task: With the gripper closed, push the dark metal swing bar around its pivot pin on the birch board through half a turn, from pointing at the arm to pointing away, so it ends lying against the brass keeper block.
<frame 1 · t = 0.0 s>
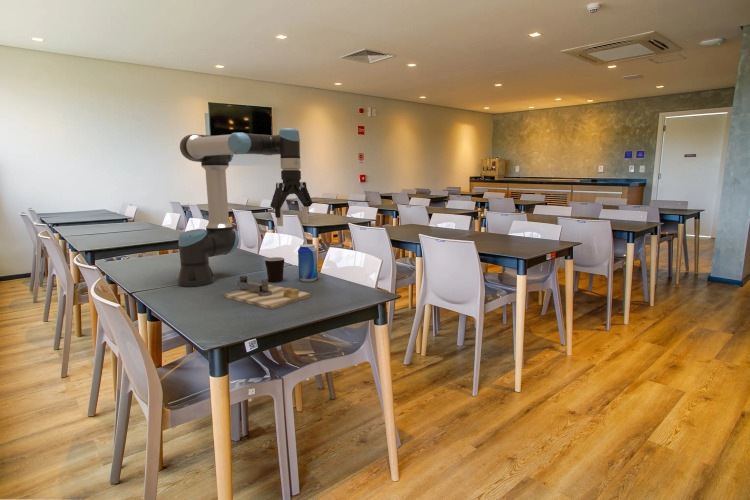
hand: (293, 224, 171), 28 cm above the table, tool pointing down, fingers open, 13 cm apart
beer can: (308, 280, 198), on the table
swing bar: (250, 283, 174), point 4 cm above the table, hinge at 0.0°
door board: (265, 297, 170), on the table
coffee mug: (277, 280, 198), on the table
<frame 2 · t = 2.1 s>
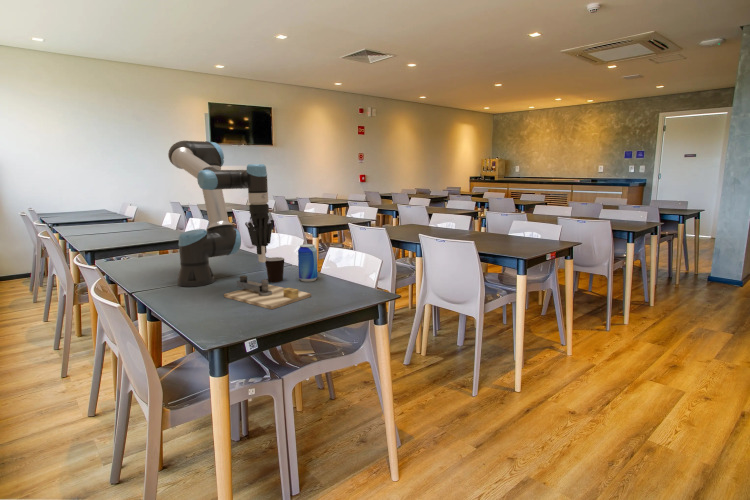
hand: (262, 261, 176), 13 cm above the table, tool pointing down, fingers closed
nothing on the table moved.
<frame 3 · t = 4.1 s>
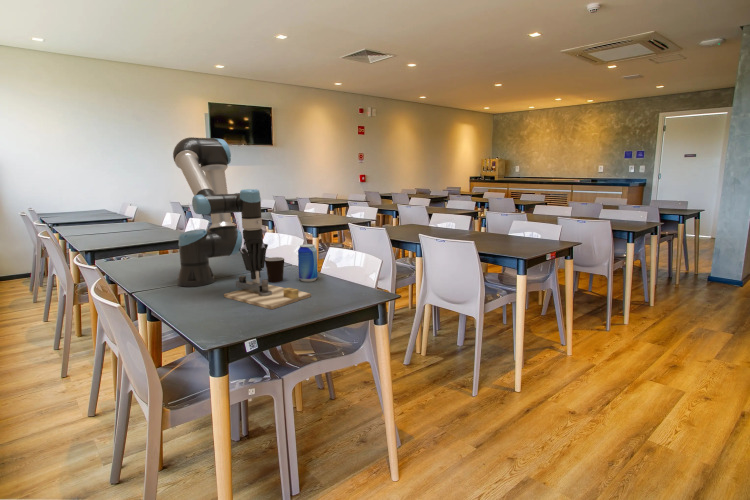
hand: (256, 286, 175), 3 cm above the table, tool pointing down, fingers closed
swing bar: (250, 283, 174), point 4 cm above the table, hinge at 2.5°, touching gripper
everything else where it was.
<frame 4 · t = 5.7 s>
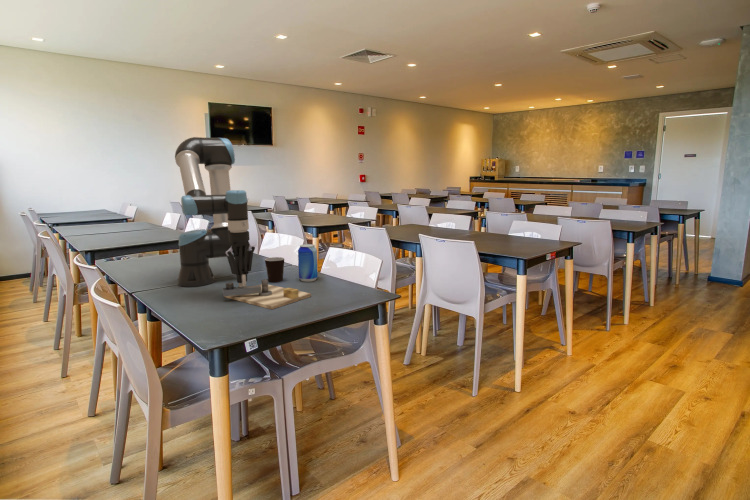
hand: (242, 290, 170), 3 cm above the table, tool pointing down, fingers closed
swing bar: (242, 288, 167), point 4 cm above the table, hinge at 53.4°, touching gripper
everything else where it was.
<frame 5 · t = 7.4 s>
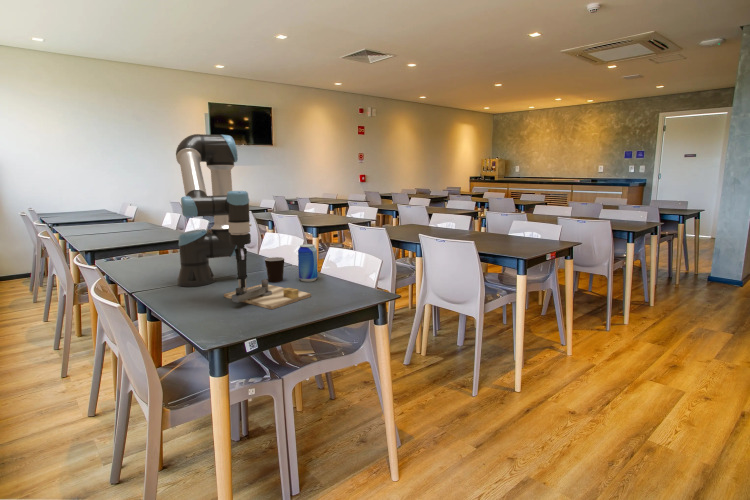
hand: (243, 295, 164), 3 cm above the table, tool pointing down, fingers closed
swing bar: (249, 291, 162), point 4 cm above the table, hinge at 96.8°, touching gripper
everything else where it was.
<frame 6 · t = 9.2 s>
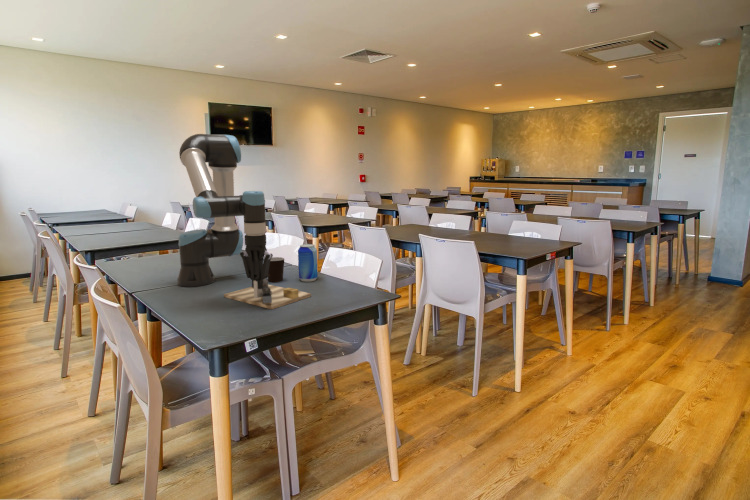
hand: (258, 297, 161), 3 cm above the table, tool pointing down, fingers closed
swing bar: (266, 291, 161), point 4 cm above the table, hinge at 142.5°, touching gripper
everything else where it was.
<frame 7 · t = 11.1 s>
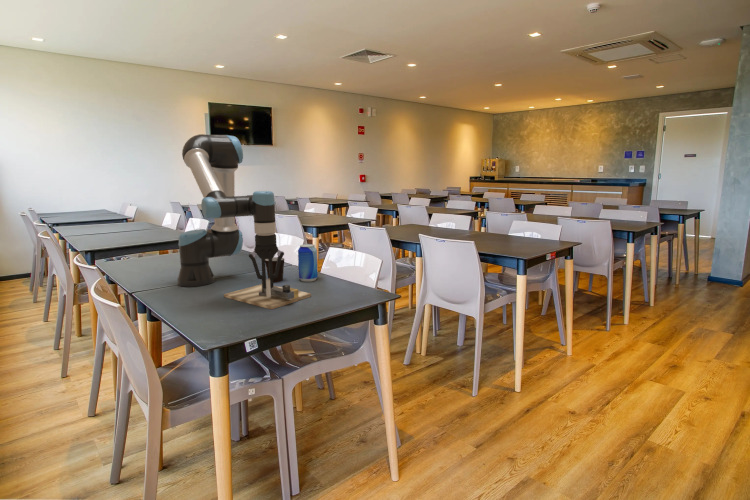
hand: (268, 296, 162), 3 cm above the table, tool pointing down, fingers closed
swing bar: (278, 289, 164), point 4 cm above the table, hinge at 176.5°
everything else where it was.
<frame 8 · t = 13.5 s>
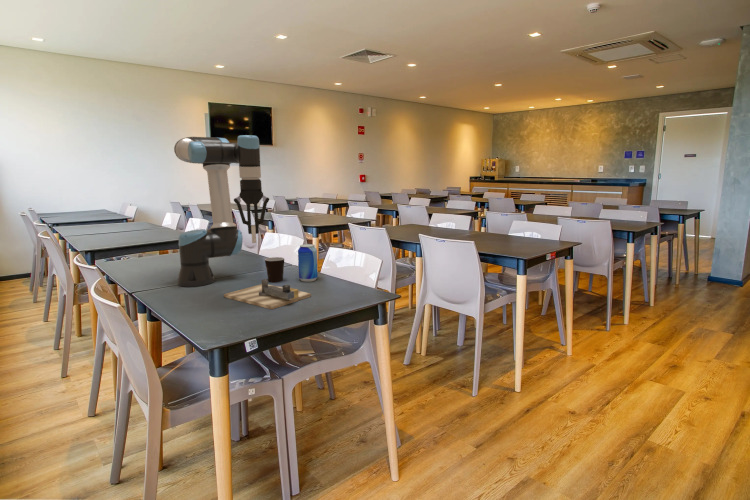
hand: (254, 242, 163), 22 cm above the table, tool pointing down, fingers closed
nothing on the table moved.
at the end: swing bar at +176° (first picture: +0°); the gripper is holding nothing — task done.
